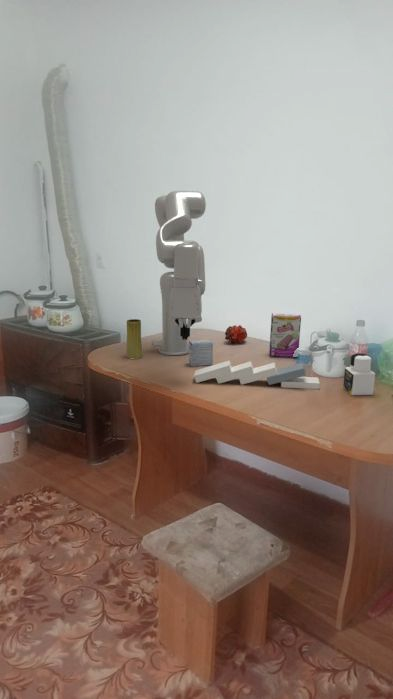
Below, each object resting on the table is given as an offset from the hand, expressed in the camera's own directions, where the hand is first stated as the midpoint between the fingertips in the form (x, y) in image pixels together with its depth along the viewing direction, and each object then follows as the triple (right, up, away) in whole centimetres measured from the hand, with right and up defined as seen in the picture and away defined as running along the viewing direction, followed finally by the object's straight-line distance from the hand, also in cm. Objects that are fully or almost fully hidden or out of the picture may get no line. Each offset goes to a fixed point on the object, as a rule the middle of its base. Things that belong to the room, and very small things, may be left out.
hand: (185, 338), depth 169 cm
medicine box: (+5, -9, +20) cm, 23 cm away
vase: (-20, -7, +28) cm, 35 cm away
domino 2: (+11, -13, +2) cm, 17 cm away
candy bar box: (+38, -6, +32) cm, 50 cm away
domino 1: (+4, -13, +2) cm, 13 cm away
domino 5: (+31, -14, -1) cm, 34 cm away
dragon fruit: (+21, -1, +51) cm, 55 cm away
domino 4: (+27, -13, -1) cm, 30 cm away
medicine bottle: (+55, -17, -6) cm, 58 cm away
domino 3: (+18, -13, +1) cm, 23 cm away
